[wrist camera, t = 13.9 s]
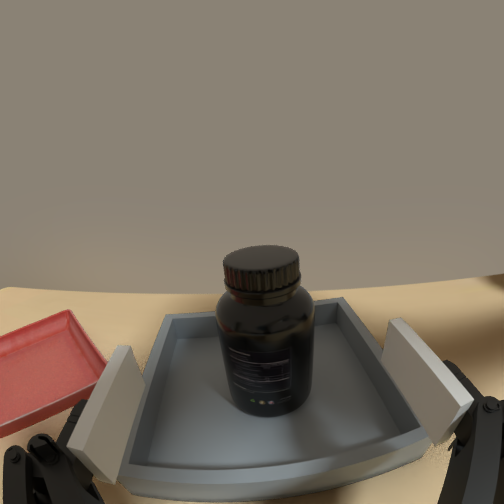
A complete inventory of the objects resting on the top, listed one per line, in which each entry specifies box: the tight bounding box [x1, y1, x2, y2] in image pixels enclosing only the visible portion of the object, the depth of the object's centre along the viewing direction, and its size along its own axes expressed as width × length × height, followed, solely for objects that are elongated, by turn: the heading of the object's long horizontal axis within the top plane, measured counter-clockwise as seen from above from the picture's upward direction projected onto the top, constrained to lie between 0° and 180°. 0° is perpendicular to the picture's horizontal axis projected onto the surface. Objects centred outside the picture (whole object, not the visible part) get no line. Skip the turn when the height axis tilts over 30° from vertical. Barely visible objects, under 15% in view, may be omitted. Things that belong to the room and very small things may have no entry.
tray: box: [117, 297, 432, 502], centre depth 21 cm, size 20×20×4 cm
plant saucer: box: [0, 309, 108, 438], centre depth 21 cm, size 18×18×3 cm
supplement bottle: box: [215, 245, 315, 417], centre depth 19 cm, size 7×7×12 cm
